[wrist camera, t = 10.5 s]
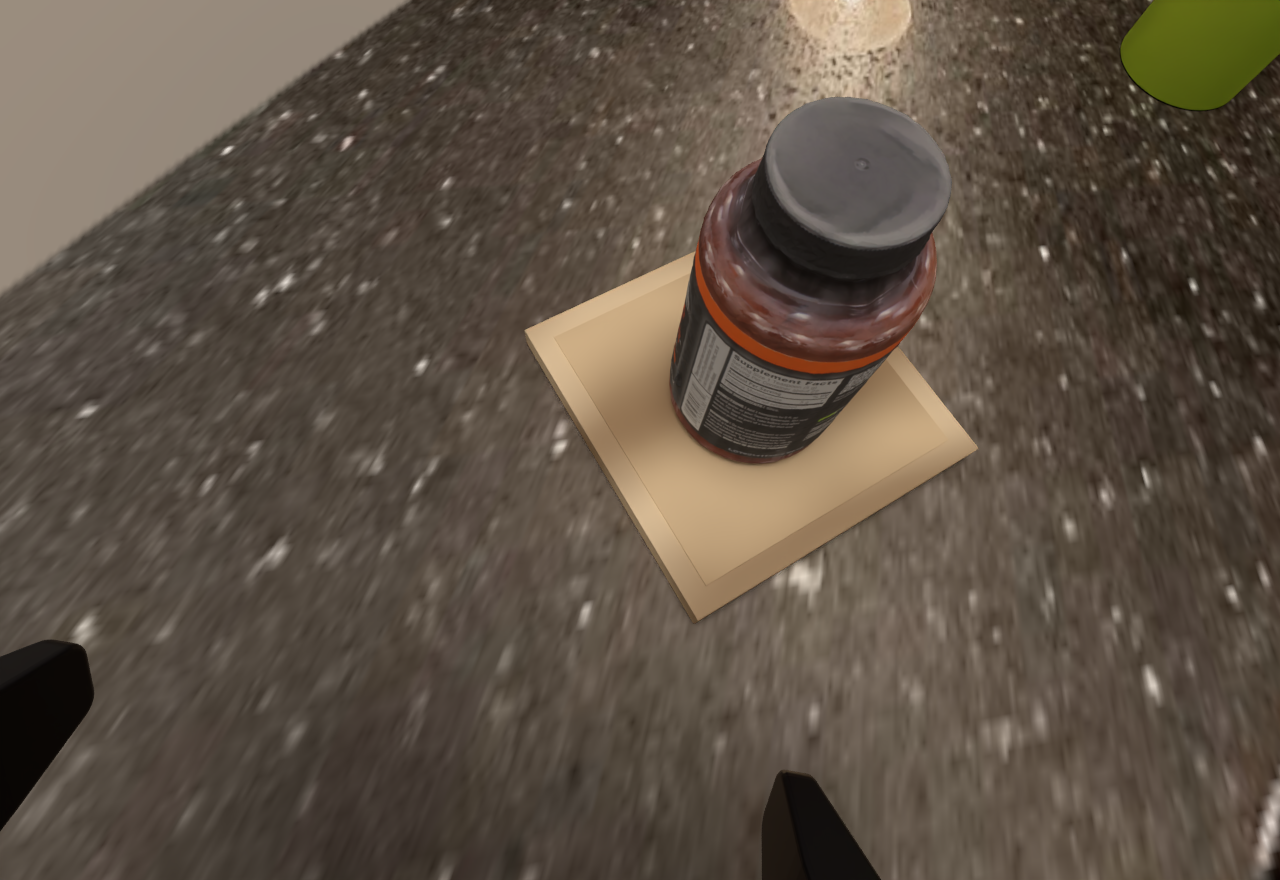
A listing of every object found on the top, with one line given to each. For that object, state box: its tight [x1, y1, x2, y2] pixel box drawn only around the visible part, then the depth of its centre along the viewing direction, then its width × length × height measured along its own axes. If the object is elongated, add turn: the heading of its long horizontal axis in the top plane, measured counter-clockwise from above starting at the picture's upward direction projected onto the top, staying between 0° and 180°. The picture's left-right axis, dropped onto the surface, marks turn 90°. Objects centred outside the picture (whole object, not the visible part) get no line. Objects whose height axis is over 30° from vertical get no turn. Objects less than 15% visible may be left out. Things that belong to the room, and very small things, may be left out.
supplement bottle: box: [669, 97, 952, 464], centre depth 20 cm, size 6×6×11 cm
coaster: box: [525, 251, 978, 624], centre depth 25 cm, size 12×12×1 cm
